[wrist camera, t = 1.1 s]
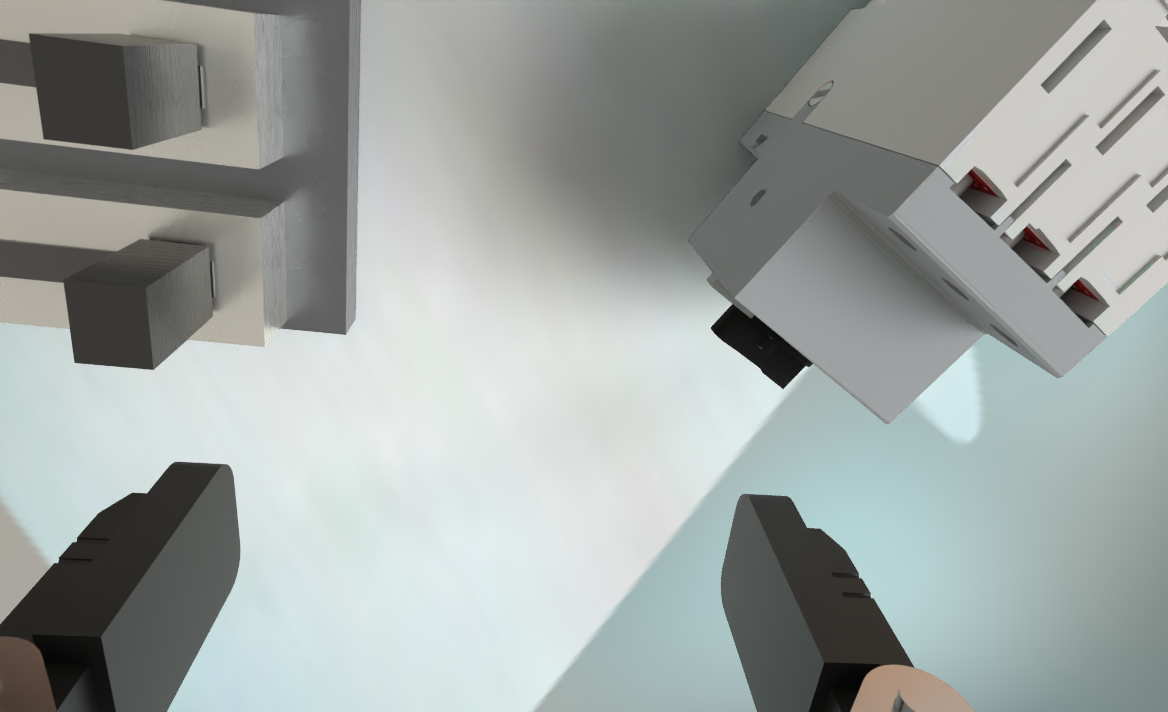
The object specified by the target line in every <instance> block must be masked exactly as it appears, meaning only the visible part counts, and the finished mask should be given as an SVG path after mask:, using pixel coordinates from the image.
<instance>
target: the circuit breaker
mask: <svg viewBox="0 0 1168 712" xmlns="http://www.w3.org/2000/svg"><path fill="white" fill-rule="evenodd" d="M1165 17H1166V18H1167V20H1168V0H870V2H869V3H868V4H867V5H866V6H865V7H864V8H862V9H851V10H850V11H849V12H848V14H847V15H846V16H845V17H844V18H843V19H842V21H841V22H840V23H839V24H838V25H837V26H836V28H835V29H834V30H833V31H832V32H831V34H830V35H829V36H828V37H827V38H826V39H825V41H824V42H823V43H822V44H821V45H820V46H819V48H818V49H817V50H816V51H815V52H814V53H813V55H812V56H811V57H810V58H809V59H808V60H807V62H806V63H805V64H804V65H803V66H802V67H801V69H800V70H799V71H798V72H797V73H796V74H795V76H794V77H793V78H792V79H791V80H790V81H789V83H788V84H787V85H786V86H785V87H784V88H783V90H782V91H781V92H780V93H779V94H778V95H777V97H776V98H775V99H774V100H773V101H772V102H771V104H770V105H769V106H768V107H767V108H766V109H765V111H764V112H763V113H762V114H761V115H760V116H759V118H758V119H757V120H756V121H755V122H754V124H753V125H752V126H751V127H750V128H749V129H748V131H747V132H746V133H745V134H744V135H743V136H742V138H741V139H740V140H739V142H740V143H741V144H742V145H743V146H744V147H745V148H746V149H747V150H748V151H749V152H751V153H752V154H753V155H754V156H755V157H756V158H757V159H758V160H757V161H756V162H755V163H754V164H753V165H752V166H751V168H750V169H749V170H748V171H747V172H746V173H745V175H744V176H743V177H742V178H741V179H740V180H739V181H738V183H737V184H736V185H735V186H734V187H733V188H732V190H731V191H730V192H729V193H728V194H727V195H726V196H725V198H724V199H723V200H722V201H721V202H720V203H719V204H718V206H717V207H716V208H715V209H714V210H713V211H712V213H711V214H710V215H709V216H708V217H707V218H706V219H705V221H704V222H703V223H702V224H701V225H700V226H699V228H698V229H697V230H696V231H695V232H694V233H693V234H692V236H691V237H690V238H689V240H688V241H689V242H690V244H691V245H692V246H693V248H694V249H695V250H696V251H697V253H698V254H699V255H700V257H701V258H702V259H703V260H704V262H705V263H706V264H707V266H708V267H709V268H710V269H711V271H712V272H713V273H712V274H711V275H710V276H709V277H708V279H707V281H708V282H709V284H710V285H711V286H712V287H713V288H714V289H715V290H717V291H718V292H719V293H720V294H721V295H723V296H724V297H725V298H726V299H728V300H729V301H730V302H731V303H733V304H732V305H731V306H730V307H729V308H728V309H727V311H726V312H725V313H724V314H723V315H722V316H721V317H720V318H719V319H718V320H717V321H716V322H715V324H714V325H713V326H712V327H711V329H712V331H713V332H714V333H715V334H716V335H717V336H718V337H719V338H720V339H721V340H722V341H723V342H725V343H726V344H728V345H729V346H731V347H732V348H733V349H735V350H736V351H738V352H739V353H740V354H742V355H743V356H744V357H746V358H747V359H748V360H750V361H751V362H752V363H754V364H755V365H757V366H758V367H759V368H760V369H761V371H762V372H763V373H764V374H765V375H766V376H767V377H769V378H770V379H771V380H772V381H774V382H775V383H776V384H777V385H779V386H780V387H781V388H783V389H784V388H785V387H786V386H787V385H788V384H789V383H790V381H791V380H792V379H793V378H794V377H795V376H796V375H797V374H798V373H799V372H800V371H801V370H802V369H803V368H804V367H805V366H807V367H810V366H811V365H812V364H814V365H816V366H817V367H818V368H819V369H821V370H822V371H823V372H824V373H825V374H827V375H828V376H829V377H830V378H831V379H833V380H834V381H835V382H836V383H837V384H839V385H840V386H841V387H842V388H843V389H845V390H846V391H847V392H848V393H850V394H851V395H852V396H853V397H854V398H855V399H857V400H858V401H859V402H860V403H862V404H863V405H864V406H865V407H866V408H867V409H869V410H870V411H871V412H872V413H874V414H875V415H876V416H877V417H878V418H880V419H881V420H882V421H883V422H884V423H886V424H889V423H891V422H892V421H893V419H895V418H896V417H897V416H898V415H899V414H900V413H901V412H902V411H903V410H904V409H905V408H906V407H908V406H909V405H910V404H911V403H912V402H913V401H914V400H915V399H916V398H917V397H918V396H919V395H920V394H921V393H922V392H923V391H924V390H926V389H927V388H928V387H929V386H930V385H931V384H932V383H933V382H934V381H935V380H936V379H937V378H938V377H939V376H940V375H941V374H942V373H944V372H945V371H946V370H947V369H948V368H949V367H950V366H951V365H952V364H953V363H954V362H955V361H956V360H957V359H958V358H959V357H960V356H962V355H963V354H964V353H965V352H966V351H967V350H968V349H969V348H970V347H971V346H972V345H973V344H974V343H975V342H976V341H977V340H978V339H980V338H981V336H983V335H984V334H990V335H991V336H993V337H994V338H996V339H997V340H999V341H1000V342H1002V343H1004V344H1005V345H1007V346H1008V347H1010V348H1011V349H1013V350H1014V351H1016V352H1018V353H1019V354H1021V355H1022V356H1024V357H1025V358H1027V359H1028V360H1030V361H1032V362H1033V363H1035V364H1036V365H1038V366H1040V367H1041V368H1042V369H1044V370H1046V371H1047V372H1049V373H1050V374H1052V375H1054V376H1055V377H1056V378H1059V377H1063V376H1064V375H1065V374H1066V373H1067V372H1068V371H1070V370H1071V369H1072V368H1073V367H1074V366H1075V365H1076V364H1077V363H1079V361H1081V360H1082V359H1083V358H1084V357H1085V356H1086V355H1087V354H1089V353H1090V352H1091V351H1092V350H1093V349H1094V348H1095V347H1096V346H1098V345H1099V344H1100V343H1101V342H1102V341H1103V340H1104V339H1105V338H1106V336H1109V335H1110V334H1111V333H1112V332H1113V331H1114V330H1116V329H1117V328H1118V327H1119V326H1120V325H1121V324H1122V323H1123V322H1124V321H1126V320H1127V319H1128V318H1129V317H1130V316H1131V315H1132V314H1133V313H1134V312H1136V310H1138V309H1139V308H1140V307H1141V306H1142V305H1143V304H1144V303H1146V301H1148V300H1149V299H1150V298H1151V297H1152V296H1153V295H1154V294H1155V293H1157V292H1158V291H1159V290H1160V289H1161V288H1162V287H1163V286H1164V285H1166V284H1167V283H1168V27H1160V26H1157V25H1158V24H1159V23H1160V22H1161V21H1162V20H1163V19H1164V18H1165ZM1105 335H1106V336H1105Z"/></svg>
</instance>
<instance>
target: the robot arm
mask: <svg viewBox="0 0 1168 712" xmlns="http://www.w3.org/2000/svg"><path fill="white" fill-rule="evenodd" d="M239 561H240V539H239V528H238V518H237V507H236V497H235V486H234V477H233V473H232V470H231V468H230V466H228V465H226V464H208V463H190V462H174V463H173V464H171V465H170V466H169V467H168V469H167V470H166V471H165V472H164V473H163V475H162V476H161V477H160V478H159V480H158V481H157V482H156V483H155V484H154V486H153V487H152V488H151V489H150V491H149V492H148V493H147V494H145V493H131V494H129V495H128V496H126V497H124V498H123V499H121V500H120V501H118V502H116V503H115V504H113V505H111V506H110V507H108V508H106V509H105V510H103V511H101V512H100V513H98V515H97V516H96V517H95V518H94V519H93V520H92V521H91V522H90V524H89V525H88V526H87V527H86V528H85V529H84V530H83V531H82V533H81V534H80V535H79V536H78V537H77V542H76V543H75V542H73V543H72V544H71V545H70V546H69V547H68V548H67V550H66V551H65V552H64V553H63V554H62V555H61V556H60V557H59V562H58V563H54V564H53V565H52V567H51V568H50V569H49V570H48V571H47V572H46V573H45V575H44V576H43V577H42V578H41V579H40V580H39V581H38V582H37V584H36V585H35V586H34V587H33V588H32V589H31V590H30V591H29V593H28V594H27V595H26V596H25V597H24V598H23V599H22V600H21V602H20V603H19V604H18V605H17V606H16V607H15V608H14V609H13V611H12V612H11V613H10V614H9V615H8V616H7V617H6V619H5V620H4V621H3V622H2V623H1V624H0V712H167V710H168V708H169V706H170V704H171V703H172V701H173V699H174V697H175V695H176V693H177V691H178V689H179V687H180V686H181V684H182V682H183V680H184V678H185V676H186V674H187V672H188V671H189V669H190V667H191V665H192V663H193V661H194V659H195V657H196V655H197V654H198V652H199V650H200V648H201V646H202V644H203V642H204V640H205V639H206V637H207V635H208V633H209V631H210V629H211V627H212V625H213V623H214V622H215V620H216V618H217V616H218V614H219V612H220V610H221V608H222V607H223V605H224V603H225V601H226V599H227V597H228V595H229V593H230V591H231V589H232V587H233V585H234V582H235V579H236V576H237V572H238V567H239ZM870 594H871V593H870V592H869V590H868V588H867V587H866V585H865V583H864V581H863V580H862V579H861V578H859V573H858V571H857V570H856V568H855V566H854V565H853V563H852V561H851V559H850V558H849V556H848V555H847V553H846V551H845V550H844V549H843V548H842V547H841V546H840V545H839V544H837V543H836V542H835V541H834V540H833V539H832V538H830V537H829V536H828V535H827V534H826V533H825V532H823V531H822V530H821V529H814V528H807V527H806V525H805V523H804V521H803V520H802V518H801V516H800V514H799V512H798V511H797V508H796V507H795V505H794V503H793V502H792V500H791V499H790V498H789V497H787V496H772V495H753V494H743V495H741V496H740V498H739V500H738V503H737V506H736V510H735V515H734V519H733V524H732V528H731V532H730V537H729V542H728V546H727V551H726V555H725V559H724V564H723V568H722V577H721V595H722V603H723V608H724V611H725V614H726V617H727V620H728V623H729V626H730V630H731V632H732V636H733V639H734V642H735V645H736V648H737V651H738V654H739V657H740V660H741V663H742V666H743V670H744V672H745V676H746V679H747V682H748V684H749V688H750V691H751V694H752V697H753V700H754V703H755V706H756V710H757V712H974V711H973V709H972V707H970V705H969V704H968V702H967V701H966V700H965V699H964V698H963V697H962V696H961V695H960V694H959V693H958V692H957V691H956V690H955V689H953V688H952V687H951V686H949V685H948V684H947V683H945V682H944V681H942V680H941V679H939V678H937V677H935V676H933V675H932V674H929V673H927V672H924V671H922V670H920V669H916V668H914V666H913V664H912V663H911V661H910V659H909V658H908V656H907V654H906V653H905V651H904V649H903V647H902V646H901V644H900V642H899V641H898V639H897V637H896V636H895V634H894V632H893V630H892V629H891V627H890V626H889V624H888V622H887V620H886V619H885V617H884V615H883V614H882V612H881V610H880V609H879V607H878V605H877V603H876V602H875V600H874V599H872V598H871V597H870Z"/></svg>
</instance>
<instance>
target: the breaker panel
mask: <svg viewBox="0 0 1168 712" xmlns="http://www.w3.org/2000/svg"><path fill="white" fill-rule="evenodd" d="M360 13H361V0H0V322H3V323H14V324H25V325H36V326H46V327H57V328H68V329H70V333H71V340H72V347H73V354H74V361H75V363H82V364H94V365H105V366H116V367H128V368H139V369H151V370H154V369H155V368H156V367H157V366H158V365H159V364H161V363H162V362H163V361H164V360H165V359H166V358H167V357H168V356H170V355H171V354H172V353H173V352H174V351H175V350H176V349H177V348H178V347H180V346H181V345H182V344H183V343H184V342H185V341H186V340H197V341H208V342H219V343H229V344H240V345H251V346H262V347H265V346H266V345H267V344H268V342H269V341H270V340H271V339H272V338H273V336H274V335H275V334H276V333H277V332H278V331H279V329H280V328H282V329H292V330H303V331H313V332H323V333H334V334H344V335H346V333H347V332H348V330H349V328H350V327H351V325H352V324H353V322H354V320H355V309H356V250H357V190H358V131H359V72H360Z"/></svg>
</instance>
